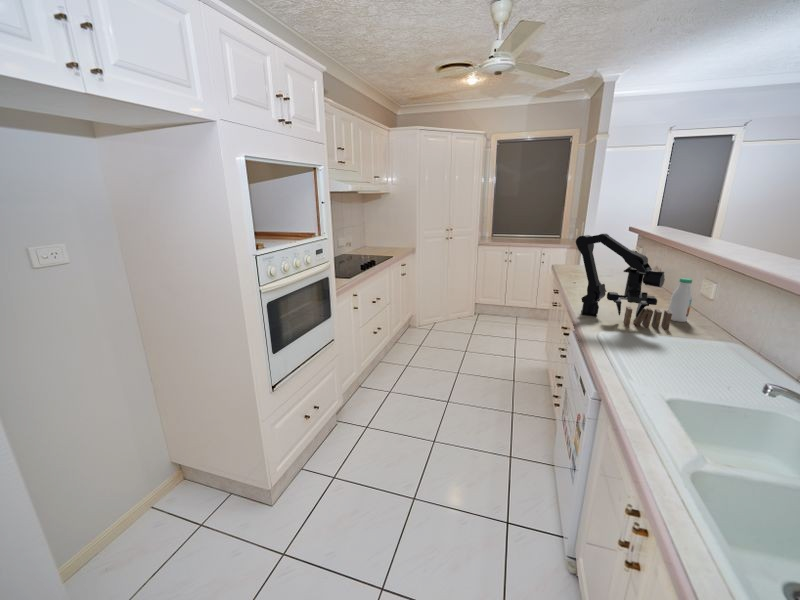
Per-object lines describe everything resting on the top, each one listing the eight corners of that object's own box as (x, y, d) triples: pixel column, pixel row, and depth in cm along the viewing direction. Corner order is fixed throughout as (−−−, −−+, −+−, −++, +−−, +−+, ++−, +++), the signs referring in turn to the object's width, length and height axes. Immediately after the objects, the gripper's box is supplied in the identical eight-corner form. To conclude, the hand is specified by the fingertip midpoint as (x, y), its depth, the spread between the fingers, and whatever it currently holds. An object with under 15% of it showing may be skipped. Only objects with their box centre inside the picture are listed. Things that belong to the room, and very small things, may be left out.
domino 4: (654, 328, 157) (657, 312, 155) (651, 324, 161) (654, 309, 159) (658, 328, 156) (662, 312, 154) (655, 325, 161) (659, 309, 159)
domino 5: (664, 329, 156) (667, 313, 153) (661, 325, 160) (664, 310, 158) (668, 329, 155) (672, 313, 153) (665, 326, 159) (669, 310, 157)
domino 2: (635, 324, 160) (645, 310, 157) (633, 321, 164) (642, 307, 161) (638, 326, 159) (648, 312, 156) (636, 322, 164) (646, 309, 161)
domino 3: (644, 326, 158) (649, 310, 156) (642, 323, 163) (646, 307, 160) (648, 327, 158) (653, 311, 155) (646, 323, 162) (650, 308, 160)
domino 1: (625, 324, 161) (628, 309, 158) (623, 321, 165) (626, 306, 163) (629, 325, 160) (632, 309, 158) (627, 322, 164) (630, 306, 162)
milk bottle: (681, 323, 163) (691, 281, 158) (663, 318, 170) (672, 277, 164) (690, 320, 167) (700, 279, 161) (671, 316, 173) (681, 276, 168)
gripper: (612, 284, 154) (606, 318, 159) (663, 289, 147) (656, 324, 151) (609, 279, 164) (603, 311, 168) (657, 283, 157) (650, 317, 161)
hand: (627, 316), depth 162 cm, fingers open, 6 cm apart
